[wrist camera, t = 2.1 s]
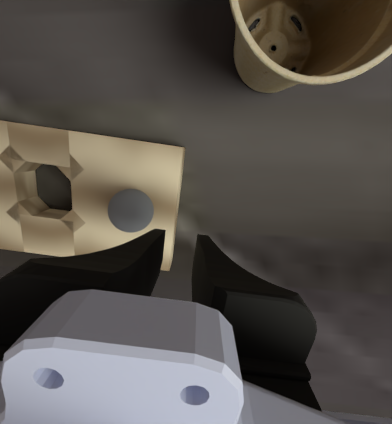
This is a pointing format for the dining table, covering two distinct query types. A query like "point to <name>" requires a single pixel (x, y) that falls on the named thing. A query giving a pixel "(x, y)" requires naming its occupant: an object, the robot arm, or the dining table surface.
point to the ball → (130, 210)
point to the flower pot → (309, 40)
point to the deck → (82, 189)
